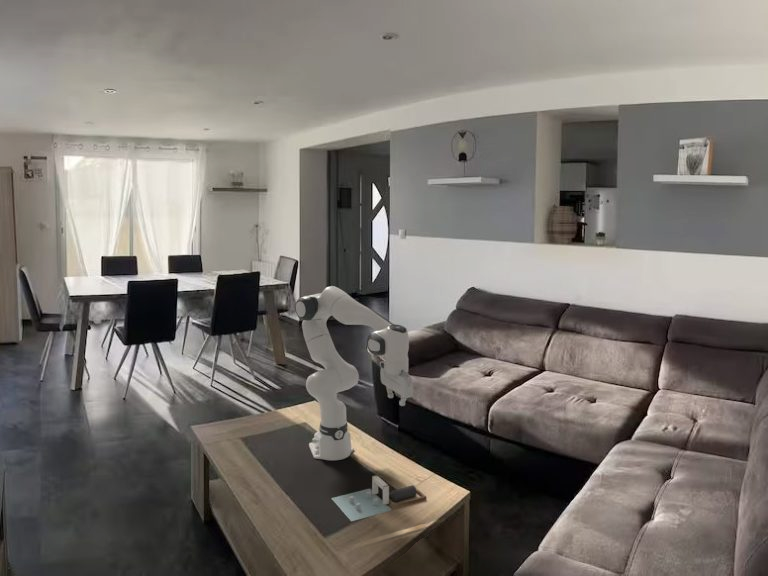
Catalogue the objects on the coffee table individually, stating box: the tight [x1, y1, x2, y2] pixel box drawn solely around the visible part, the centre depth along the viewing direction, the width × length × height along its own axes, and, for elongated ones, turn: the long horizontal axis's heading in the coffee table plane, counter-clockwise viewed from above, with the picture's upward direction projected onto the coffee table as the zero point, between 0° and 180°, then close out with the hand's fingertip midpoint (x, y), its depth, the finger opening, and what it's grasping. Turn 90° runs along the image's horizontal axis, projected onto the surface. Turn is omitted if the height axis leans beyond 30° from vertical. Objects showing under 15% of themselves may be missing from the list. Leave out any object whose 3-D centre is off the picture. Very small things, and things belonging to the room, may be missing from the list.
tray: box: [388, 486, 427, 509], centre depth 220 cm, size 9×14×2 cm, turn 118°
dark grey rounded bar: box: [389, 484, 418, 503], centre depth 221 cm, size 4×9×4 cm, turn 117°
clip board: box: [331, 488, 393, 522], centre depth 216 cm, size 18×16×3 cm
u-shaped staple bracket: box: [371, 474, 390, 505], centre depth 219 cm, size 10×2×7 cm, turn 28°
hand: (396, 401), depth 231 cm, fingers open, 8 cm apart
